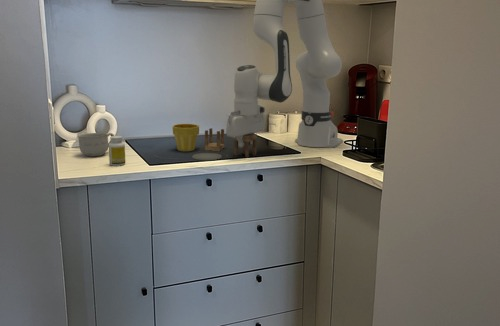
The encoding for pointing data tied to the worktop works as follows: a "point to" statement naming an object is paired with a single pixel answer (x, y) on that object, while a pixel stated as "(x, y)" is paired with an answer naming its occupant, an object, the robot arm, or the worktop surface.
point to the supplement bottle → (116, 151)
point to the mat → (206, 156)
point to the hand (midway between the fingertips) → (245, 145)
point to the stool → (246, 144)
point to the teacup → (94, 143)
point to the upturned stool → (214, 146)
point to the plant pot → (186, 136)
